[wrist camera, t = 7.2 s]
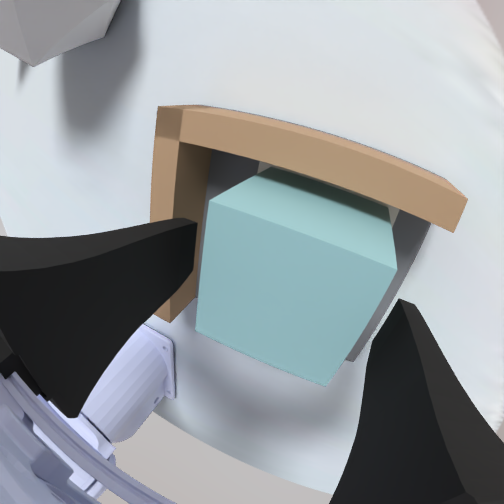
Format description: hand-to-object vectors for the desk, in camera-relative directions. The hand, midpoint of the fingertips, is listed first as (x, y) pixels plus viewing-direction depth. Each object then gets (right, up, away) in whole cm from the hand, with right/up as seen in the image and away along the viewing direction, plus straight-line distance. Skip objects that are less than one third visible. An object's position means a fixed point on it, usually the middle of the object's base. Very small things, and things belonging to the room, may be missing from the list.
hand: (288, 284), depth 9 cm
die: (-10, +17, +1) cm, 19 cm away
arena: (+1, +2, +4) cm, 4 cm away
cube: (+1, +2, +3) cm, 4 cm away
